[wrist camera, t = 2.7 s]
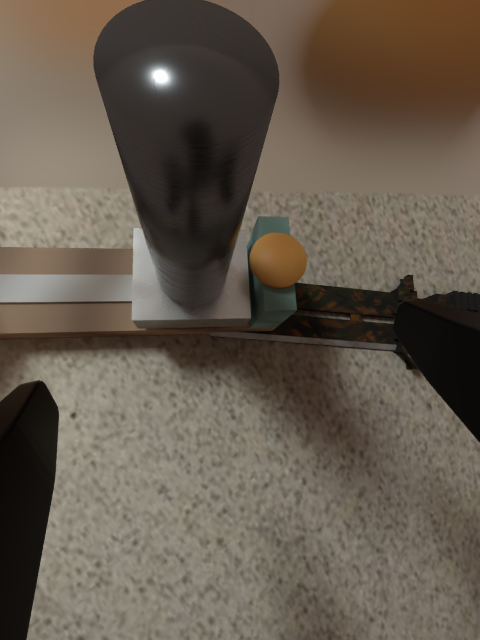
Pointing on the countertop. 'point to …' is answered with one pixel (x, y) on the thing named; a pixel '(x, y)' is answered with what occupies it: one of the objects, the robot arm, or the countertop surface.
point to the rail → (116, 288)
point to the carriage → (187, 152)
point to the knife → (352, 317)
